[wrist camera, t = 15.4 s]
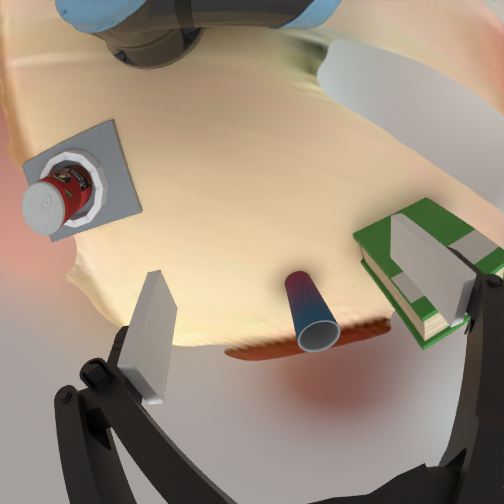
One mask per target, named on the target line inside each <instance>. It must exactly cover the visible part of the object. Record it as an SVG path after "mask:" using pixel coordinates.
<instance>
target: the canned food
mask: <svg viewBox="0 0 504 504" xmlns="http://www.w3.org/2000/svg"><path fill="white" fill-rule="evenodd" d="M91 191H92V182H91V179H90V176H89V174H88V173H87V172H86V170H84V169H83V168H82V167H80V166H76V165H69V166H66V167H64V168H62V169H60V170H58V171H56V172H54V173H52V174H50V175H48V176H46V177H44V178H42V179H40V180H39V181H37V182H35V183H34V184H32V185H31V186H30V187H29V188H28V189H27V190H26V192H25V194H24V196H23V200H22V212H23V215H24V218H25V221H26V223H27V224H28V226H29V227H30V228H31V229H32V230H33V231H34V232H36V233H38V234H41V235H50V234H52V233H54V232H55V231H57V230H58V229H59V228H60V227H61V226H63V225H64V224H65V223H66V222H67V221H68V220H69V219H70V218H71V217H72V216H73V215H74V214H75V213H77V212H78V211H79V210H80V209H81V208H82V207H83V206H84V205H85V204H86V203H87V202H88V200H89V198H90V195H91Z"/></svg>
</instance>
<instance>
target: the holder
mask: <svg viewBox="0 0 504 504" xmlns="http://www.w3.org/2000/svg"><path fill="white" fill-rule="evenodd" d="M69 165H76V166H80V167H82V168H83V169H84V170H86V172H87V173H88V174H89V176H90V179H91V182H92V191H91V195H90V198H89V200H88V202H87V203H86V204H85V205H84V206H83V207H82V208H81V209H80V210H79V211H78V212H77V213H75V214H74V215H73V216H72V217H71V218H70V219H69V220H68V221H67V222H66V223H65V224H64V225H63V226H61V227H60V228H59V229H58V230H57V231H55V232H54V233H52V234H50V235H49V236H50V238H51V241H52V242H55V241H57V240H60V239H63V238H66V237H68V236H71V235H74V234H77V233H80V232H83V231H86V230H89V229H91V228H94V227H97V226H100V225H103V224H107V223H110V222H113V221H116V220H119V219H122V218H125V217H128V216H132V215H135V214H138V213H141V212H142V211H143V210H142V207H141V204H140V202H139V199H138V196H137V193H136V190H135V187H134V184H133V181H132V178H131V175H130V172H129V169H128V166H127V163H126V160H125V156H124V153H123V150H122V146H121V143H120V140H119V136H118V133H117V129H116V126H115V122H114V119H113V120H110V121H107V122H105V123H103V124H100V125H98V126H96V127H94V128H91V129H89V130H87V131H85V132H83V133H80V134H78V135H76V136H74V137H72V138H70V139H68V140H66V141H64V142H62V143H60V144H58V145H56V146H54V147H53V148H51V149H49V150H47V151H45V152H43V153H42V154H40V155H38V156H36V157H35V158H33V159H31V160H29V161H28V162H26V163H24V164H23V165H22V166H23V169H24V173H25V176H26V178H27V181H28V184H29V187H30V186H31V185H32V184H34V183H35V182H37V181H39V180H40V179H42V178H44V177H46V176H48V175H50V174H52V173H54V172H56V171H58V170H60V169H62V168H64V167H66V166H69Z"/></svg>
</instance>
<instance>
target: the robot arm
mask: <svg viewBox="0 0 504 504" xmlns="http://www.w3.org/2000/svg"><path fill="white" fill-rule="evenodd" d="M340 2H341V0H55V5H56V8H57V11H58V13H59V15H60V16H61V17H62V18H63V19H64V20H65V21H66V22H68V23H70V24H71V25H72V26H73V27H74V28H75V29H76V30H78V31H80V32H85V33H89V34H91V35H94V36H96V37H98V38H100V39H103V40H105V41H106V43H107V46H108V48H109V50H110V52H111V53H112V54H113V55H114V56H115V57H116V58H117V59H118V60H119V61H121V62H123V63H125V64H127V65H130V66H132V67H136V68H141V69H154V68H160V67H164V66H167V65H170V64H172V63H174V62H176V61H178V60H180V59H181V58H183V57H184V56H185V55H187V54H188V53H189V52H190V51H191V50H192V49H193V48H194V47H195V46H196V44H197V43H198V42H199V40H200V38H201V36H202V34H203V31H204V28H205V27H209V26H257V27H269V28H271V29H284V28H291V29H310V28H314V27H317V26H319V25H321V24H323V23H324V22H325V21H326V20H328V19H329V18H330V16H331V15H332V14H333V13H334V11H335V10H336V9H337V7H338V5H339V4H340ZM390 257H391V258H392V259H393V260H394V262H395V263H396V264H397V265H398V266H399V267H400V268H401V269H402V270H403V271H404V272H405V274H406V275H407V276H408V277H409V278H410V279H411V280H412V281H413V282H414V284H415V285H416V286H417V287H418V288H419V289H420V290H421V292H422V293H423V294H424V295H425V296H426V297H427V299H428V300H429V301H430V302H431V303H432V305H433V306H434V307H435V308H436V309H437V311H438V312H439V313H440V314H441V315H442V317H443V318H444V319H445V320H446V322H447V323H448V324H449V325H450V327H451V328H452V327H454V326H456V325H458V324H460V323H462V322H463V320H464V317H465V314H466V313H467V314H468V315H469V316H470V319H469V322H468V325H467V327H466V330H465V333H464V334H467V331H468V335H467V347H466V357H465V365H464V373H463V380H462V385H461V391H460V397H459V402H458V407H457V411H456V416H455V420H454V424H453V429H452V433H451V436H450V440H449V444H448V447H447V449H446V451H445V453H444V455H443V457H442V459H441V461H440V463H439V465H438V466H434V467H426V465H425V463H424V464H422V465H420V466H418V467H416V468H414V469H411V470H409V471H407V472H405V473H402V474H400V475H398V476H396V477H395V478H393V479H392V480H390V481H389V482H387V483H386V484H384V485H383V486H381V487H380V488H378V489H377V490H375V491H373V492H372V493H370V494H367V495H359V496H349V497H335V498H330V499H326V500H322V501H318V502H313V503H309V504H504V280H503V279H502V278H501V277H500V276H498V275H496V274H489V273H488V274H484V273H483V272H482V271H481V270H479V269H478V268H477V267H476V266H475V265H474V264H473V263H471V262H470V261H468V259H467V258H466V257H464V256H463V255H462V254H461V253H460V252H458V251H457V250H455V249H453V248H451V247H445V246H444V245H442V244H441V243H440V242H439V241H437V240H436V239H435V238H434V237H432V236H431V235H430V234H429V233H427V232H426V231H425V230H424V229H422V228H421V227H420V226H418V225H417V224H416V223H414V222H413V221H412V220H410V219H409V218H408V217H406V216H405V215H404V214H402V213H400V214H396V215H391V249H390ZM176 314H177V306H176V304H175V302H174V300H173V297H172V295H171V293H170V291H169V288H168V286H167V284H166V282H165V279H164V277H163V275H162V272H161V270H157V271H152V272H148V274H147V276H146V279H145V282H144V284H143V287H142V290H141V293H140V296H139V298H138V301H137V304H136V307H135V310H134V313H133V316H132V319H131V322H130V325H129V326H123V327H122V328H121V329H120V330H119V332H118V333H117V334H116V337H115V340H114V344H113V346H112V350H111V352H110V355H109V358H108V361H107V363H106V362H105V361H104V360H103V359H102V358H94V359H91V360H89V361H88V362H87V363H85V364H84V366H83V367H82V368H81V371H80V379H81V380H82V381H83V382H84V383H85V384H86V386H88V388H86V389H83V390H80V391H78V390H76V388H75V387H73V386H71V385H67V386H64V387H62V388H61V389H60V390H59V391H58V392H57V393H56V395H55V399H54V407H55V419H56V429H57V438H58V446H59V452H60V459H61V464H62V470H63V474H64V480H65V484H66V489H67V493H68V497H69V501H70V504H137V503H136V501H135V498H134V496H133V494H132V491H131V489H130V486H129V484H128V481H127V478H126V476H125V473H124V470H123V467H122V465H121V462H120V459H119V456H118V453H117V449H116V446H115V443H114V440H113V436H112V433H111V429H110V428H111V427H112V428H113V430H114V431H115V433H116V434H117V436H118V438H119V439H120V441H121V442H122V444H123V445H124V447H125V448H126V450H127V451H128V453H129V454H130V455H131V457H132V458H133V460H134V461H135V462H136V464H137V465H138V467H139V468H140V469H141V471H143V473H144V474H145V476H146V477H147V478H148V480H149V481H150V482H151V484H152V485H153V486H154V487H155V488H156V490H157V491H158V492H159V493H160V494H161V496H162V497H163V498H164V499H165V500H166V502H167V503H168V504H237V503H236V502H235V501H234V500H233V499H232V498H230V497H229V496H228V495H227V494H225V492H223V491H222V490H221V489H220V488H219V487H218V486H216V484H214V483H213V482H212V481H211V480H210V479H209V478H208V477H207V476H206V475H205V474H204V473H202V471H201V470H199V469H198V467H196V466H195V465H194V464H193V463H192V461H190V460H189V459H188V457H186V455H185V454H184V453H183V452H182V451H181V450H180V449H179V448H178V447H177V446H176V445H175V444H174V443H173V441H172V440H171V439H170V438H169V437H168V436H167V435H166V434H165V433H164V431H163V430H162V429H161V428H160V427H159V426H158V424H157V423H156V422H155V421H154V420H153V418H152V417H151V416H150V415H149V414H148V412H147V411H146V410H145V409H144V407H143V406H142V405H141V403H142V397H143V399H144V400H145V401H146V402H147V403H148V404H160V403H164V398H165V391H166V383H167V375H168V367H169V359H170V352H171V346H172V339H173V333H174V326H175V320H176Z"/></svg>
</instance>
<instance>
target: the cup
mask: <svg viewBox="0 0 504 504" xmlns="http://www.w3.org/2000/svg"><path fill="white" fill-rule="evenodd" d="M285 286H286V291H287V295H288V300H289V304H290V309H291V314H292V318H293V323H294V328H295V332H296V337H297V342H298V345H299V347H300V348H301V349H303V350H305V351H308V352H318V351H322V350H325V349H327V348H329V347H330V346H332V345H333V344H334V343H335V342H336V341H337V340H338V338H339V336H340V327H339V325H338V324H337V322H336V320H335V318H334V317H333V315H332V313H331V312H330V310H329V308H328V306H327V305H326V303H325V301H324V300H323V298H322V296H321V295H320V293H319V291H318V290H317V288H316V286H315V284H314V283H313V281H312V279H311V278H310V276H309V275H308V274H307V273H305V272H302V271H298V272H294V273H292V274H291V275H289V276H288V278H287V279H286V282H285Z"/></svg>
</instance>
